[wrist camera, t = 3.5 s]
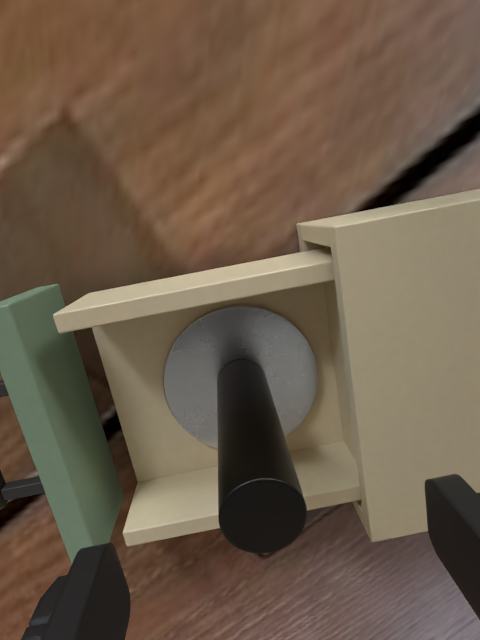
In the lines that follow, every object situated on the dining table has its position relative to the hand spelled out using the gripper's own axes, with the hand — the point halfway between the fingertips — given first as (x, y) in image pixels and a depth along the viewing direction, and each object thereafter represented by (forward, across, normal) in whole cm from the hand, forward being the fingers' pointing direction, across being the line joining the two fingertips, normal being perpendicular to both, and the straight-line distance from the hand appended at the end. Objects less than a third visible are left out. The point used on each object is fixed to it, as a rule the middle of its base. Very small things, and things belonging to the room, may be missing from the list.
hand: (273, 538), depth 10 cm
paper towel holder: (+10, 0, 0) cm, 10 cm away
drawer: (+11, +4, 0) cm, 12 cm away
